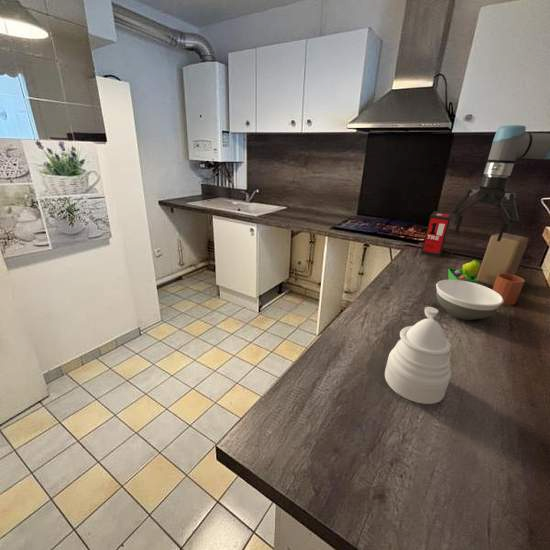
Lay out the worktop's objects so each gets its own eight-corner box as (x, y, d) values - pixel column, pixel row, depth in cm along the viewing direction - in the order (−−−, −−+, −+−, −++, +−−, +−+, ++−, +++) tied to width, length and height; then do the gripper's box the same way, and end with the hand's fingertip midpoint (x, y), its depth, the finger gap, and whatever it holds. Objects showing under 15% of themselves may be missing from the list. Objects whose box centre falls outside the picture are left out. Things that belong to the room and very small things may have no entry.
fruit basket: (443, 279, 123) (451, 253, 119) (466, 281, 122) (475, 256, 117) (453, 290, 113) (461, 263, 108) (478, 293, 111) (488, 266, 107)
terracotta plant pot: (515, 299, 108) (524, 277, 104) (514, 307, 102) (524, 284, 98) (490, 293, 112) (498, 271, 108) (488, 300, 106) (496, 277, 103)
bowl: (503, 334, 86) (513, 310, 83) (433, 321, 92) (440, 297, 88) (485, 306, 102) (493, 284, 99) (427, 295, 108) (432, 275, 105)
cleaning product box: (425, 246, 167) (434, 211, 159) (442, 249, 162) (452, 213, 154) (421, 253, 154) (430, 215, 146) (439, 257, 150) (450, 218, 142)
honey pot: (383, 358, 74) (397, 295, 67) (438, 369, 71) (459, 305, 64) (385, 395, 63) (403, 324, 56) (451, 410, 60) (478, 338, 53)
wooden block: (512, 284, 120) (530, 237, 112) (502, 289, 115) (520, 241, 107) (485, 275, 128) (500, 231, 120) (474, 280, 123) (490, 234, 115)
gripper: (452, 173, 105) (437, 231, 113) (542, 180, 89) (516, 246, 97) (458, 173, 110) (443, 228, 118) (544, 179, 94) (520, 242, 102)
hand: (476, 236), depth 108 cm, fingers open, 13 cm apart
